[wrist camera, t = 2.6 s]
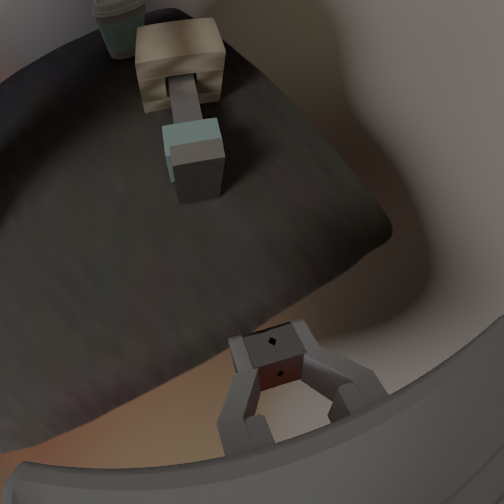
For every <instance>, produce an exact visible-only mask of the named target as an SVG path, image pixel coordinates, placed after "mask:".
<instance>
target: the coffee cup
mask: <svg viewBox="0 0 504 504" xmlns="http://www.w3.org/2000/svg"><path fill="white" fill-rule="evenodd" d="M145 2H146V0H94V2H93V8H92V16H94V17H95V19H96V21H97V24H98V26H99V29H100V32H101V34H102V36H103V39H104V41H105V44H106V46H107V49H108V51H109V53H110V56H111V57H112V58H113V59H126V58H130V57H132V56H134V55H135V51H136V35H137V27H142V26H144V16H145Z"/></svg>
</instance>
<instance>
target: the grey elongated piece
mask: <svg viewBox="0 0 504 504" xmlns="http://www.w3.org/2000/svg"><path fill="white" fill-rule="evenodd" d="M168 84H169V93H170V101H171V109H172V117H173V124H177V123H183V122H189V121H196V120H203V118H202V114H201V109H200V104H199V99H198V94H197V90H196V85H195V80H194V75H193V73H189V74H182V75H175V76H169V77H168ZM169 148H170V155H171V162H172V168H173V174H174V179H175V184H176V190H177V195H178V200H179V204H184V203H189V202H194V201H199V200H205V199H210V198H215V197H220V190H221V183H222V176H223V170H224V163H225V153H224V149H223V145H222V141H221V138H217V139H210V140H204V141H197V142H191V143H185V144H180V145H174V146H169Z"/></svg>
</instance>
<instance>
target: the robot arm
mask: <svg viewBox="0 0 504 504" xmlns="http://www.w3.org/2000/svg"><path fill="white" fill-rule="evenodd" d="M228 342H229V347H230V351H231V356H232V360H233V364H234V367H235V371H236V374H235V376H234V378H233V381H232V384H231V387H230V389H229V392H228V395H227V397H226V400H225V403H224V406H223V408H222V411H221V413H220V416H219V419H218V421H217V427H218V431H219V435H220V438H221V442H222V446H223V449H224V453H225V457H219V458H214V459H209V460H204V461H199V462H192V463H185V464H177V465H169V466H159V467H146V468H128V469H94V468H93V469H92V468H75V467H63V466H53V465H46V464H40V463H34V462H27V461H25V462H21V463H20V464H19V465H18V466H17V467H16V468H15V470H14V471H13V473H12V474H11V475H10V477H9V478H8V480H7V482H6V484H5V487H4V493H3V504H504V315H502V316H500V317H499V318H498V319H497V320H495V321H494V322H493V323H492V324H491V325H490V326H489V327H488V328H486V329H485V330H484V331H483V332H482V333H480V334H479V335H478V336H477V337H476V338H474V339H473V340H472V341H471V342H469V343H468V344H467V345H465V346H464V347H463V348H462V349H460V350H459V351H458V352H456V353H455V354H454V355H452V356H451V357H450V358H448V359H447V360H445V361H444V362H442V363H441V364H439V365H438V366H436V367H435V368H433V369H432V370H431V371H429V372H427V373H426V374H424V375H423V376H421V377H420V378H418V379H416V380H415V381H413V382H412V383H410V384H408V385H406V386H405V387H403V388H401V389H400V390H398V391H396V392H394V393H393V394H391V395H388V393H387V392H386V390H385V389H384V387H383V386H382V384H381V383H380V381H379V380H378V378H377V377H376V375H375V374H374V372H373V371H372V370H370V369H368V368H366V367H363V366H361V365H359V364H357V363H355V362H353V361H351V360H349V359H347V358H345V357H343V356H341V355H339V354H337V353H335V352H333V351H331V350H329V349H327V348H325V347H323V348H320V346H319V344H318V343H317V341H316V339H315V338H314V336H313V334H312V333H311V331H310V329H309V328H308V326H307V324H306V323H305V321H304V320H303V319H298V320H295V321H291V322H287V323H284V324H281V325H277V326H273V327H270V328H267V329H265V330H260V331H256V332H252V333H248V334H243V335H239V336H235V337H231V338H228ZM299 379H301V381H303V382H304V383H306V384H307V385H309V386H310V387H311V388H313V389H314V390H316V391H318V392H319V393H320V394H322V395H323V396H325V397H326V398H328V399H329V400H331V401H332V402H333V404H332V406H331V408H330V411H329V413H328V418H329V420H330V422H331V423H330V424H328V425H326V426H323V427H321V428H318V429H315V430H313V431H310V432H307V433H305V434H302V435H299V436H296V437H293V438H291V439H287V440H284V441H281V442H278V443H275V441H274V439H273V436H272V434H271V431H270V429H269V426H268V424H267V421H266V419H265V416H263V415H260V414H258V415H255V412H256V409H257V405H258V401H259V397H260V393H261V392H260V391H264V390H267V389H270V388H273V387H276V386H279V385H282V384H286V383H289V382H292V381H296V380H299Z"/></svg>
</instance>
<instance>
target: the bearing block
mask: <svg viewBox="0 0 504 504" xmlns="http://www.w3.org/2000/svg"><path fill="white" fill-rule="evenodd" d="M225 55H226V50H225V47H224V45H223V42H222V39H221V36H220V34H219V31H218V28H217V25H216V23H215V20H214V18H213V17H212V18H199V19H188V20H179V21H171V22H164V23H158V24H152V25H147V26H142V27H137V35H136V51H135V67H136V73H137V78H138V83H139V88H140V93H141V97H142V102H143V106H144V111H145V113H149V112H154V111H159V110H164V109H169V108H171V101H170V93H169V84H168V77H169V76H175V75H182V74H189V73H193V75H194V80H195V85H196V90H197V94H198V99H199V104H202V103H209V102H218V101H220V94H221V86H222V78H223V70H224V62H225Z"/></svg>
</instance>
